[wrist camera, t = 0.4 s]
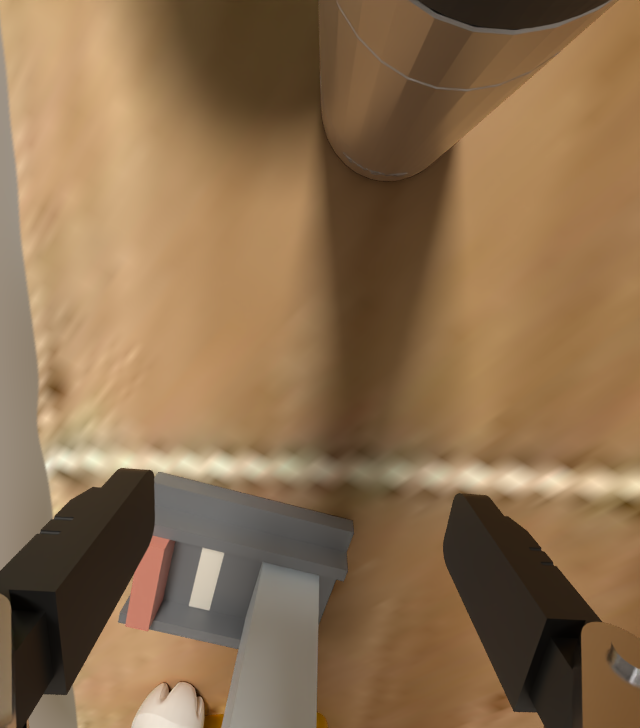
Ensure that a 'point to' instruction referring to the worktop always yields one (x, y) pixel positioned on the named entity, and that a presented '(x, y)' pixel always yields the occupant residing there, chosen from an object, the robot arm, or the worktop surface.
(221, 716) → the element tile
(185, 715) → the water bottle
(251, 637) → the grey tall block
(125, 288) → the worktop surface
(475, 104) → the robot arm
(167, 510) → the track
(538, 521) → the worktop surface
